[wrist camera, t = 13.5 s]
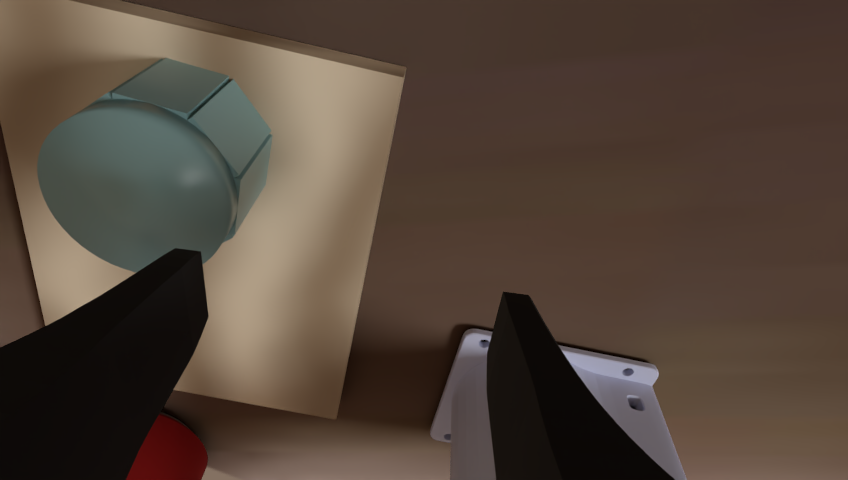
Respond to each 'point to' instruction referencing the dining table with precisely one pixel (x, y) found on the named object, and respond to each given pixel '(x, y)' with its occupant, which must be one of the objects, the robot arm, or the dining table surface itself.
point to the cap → (157, 165)
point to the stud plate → (270, 214)
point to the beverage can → (169, 453)
